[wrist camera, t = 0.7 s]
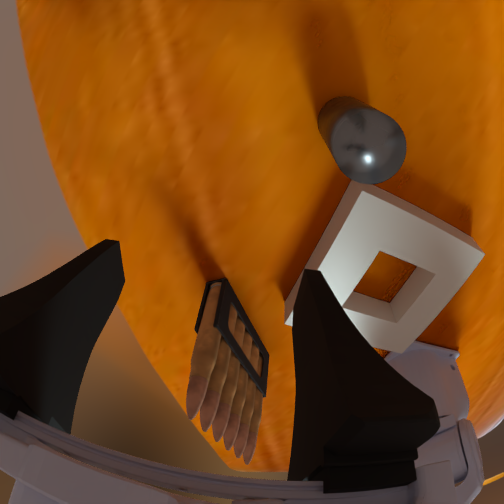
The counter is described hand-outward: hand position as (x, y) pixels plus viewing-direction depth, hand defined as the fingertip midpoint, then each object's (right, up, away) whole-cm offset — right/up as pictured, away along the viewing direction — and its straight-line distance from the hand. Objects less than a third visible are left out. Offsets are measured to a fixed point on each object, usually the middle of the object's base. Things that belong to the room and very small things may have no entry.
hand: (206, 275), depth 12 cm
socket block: (+12, -1, +12) cm, 17 cm away
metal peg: (+7, +9, +6) cm, 13 cm away
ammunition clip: (+1, -5, +16) cm, 17 cm away
